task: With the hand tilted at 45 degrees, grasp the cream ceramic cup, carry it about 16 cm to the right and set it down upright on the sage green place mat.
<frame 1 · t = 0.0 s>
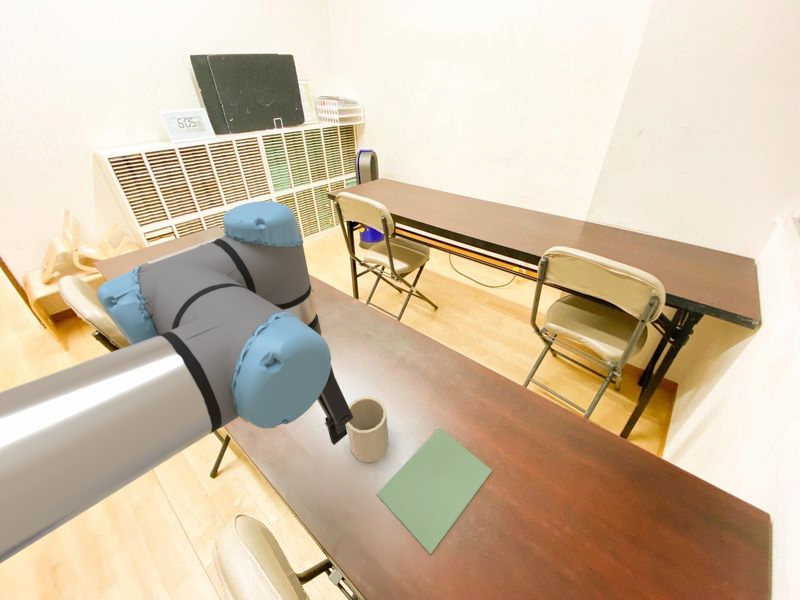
hand: (316, 412, 56), 20 cm above the table, tool pointing down, fingers open, 13 cm apart
place mat: (435, 482, 66), on the table
power supply unit: (196, 266, 140), on the table
plant: (251, 279, 131), on the table
cup: (369, 444, 73), on the table
hard drive box: (281, 337, 102), on the table
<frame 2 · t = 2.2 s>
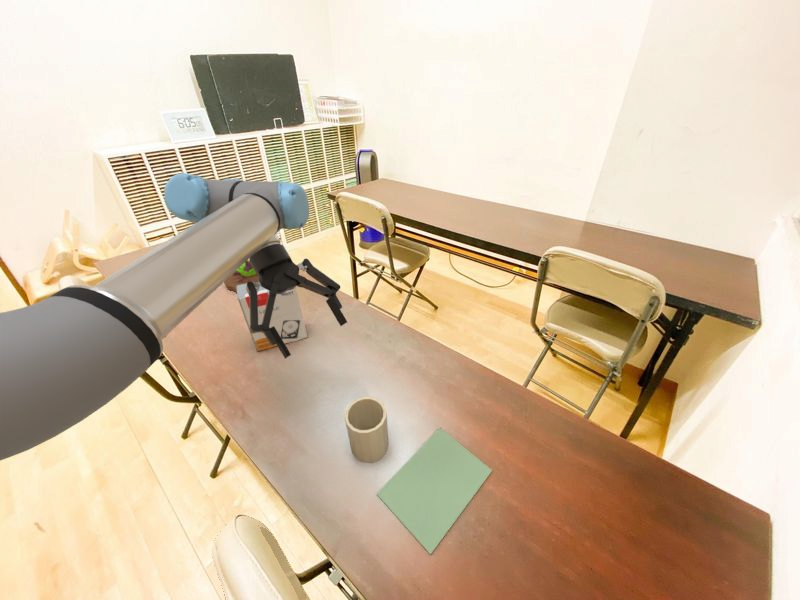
hand: (317, 339, 67), 23 cm above the table, tool tilted 45°, fingers open, 13 cm apart
nothing on the table moved.
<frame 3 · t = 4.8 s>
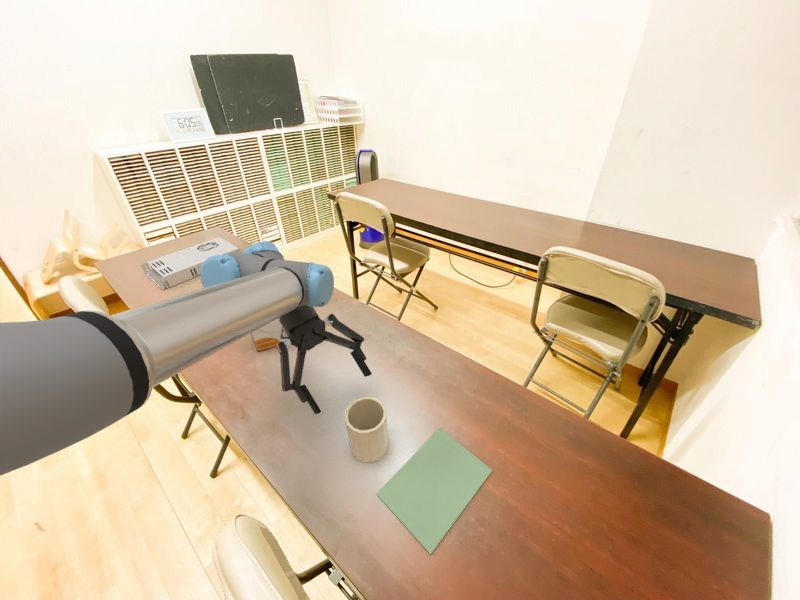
hand: (344, 393, 70), 12 cm above the table, tool tilted 45°, fingers open, 13 cm apart
nothing on the table moved.
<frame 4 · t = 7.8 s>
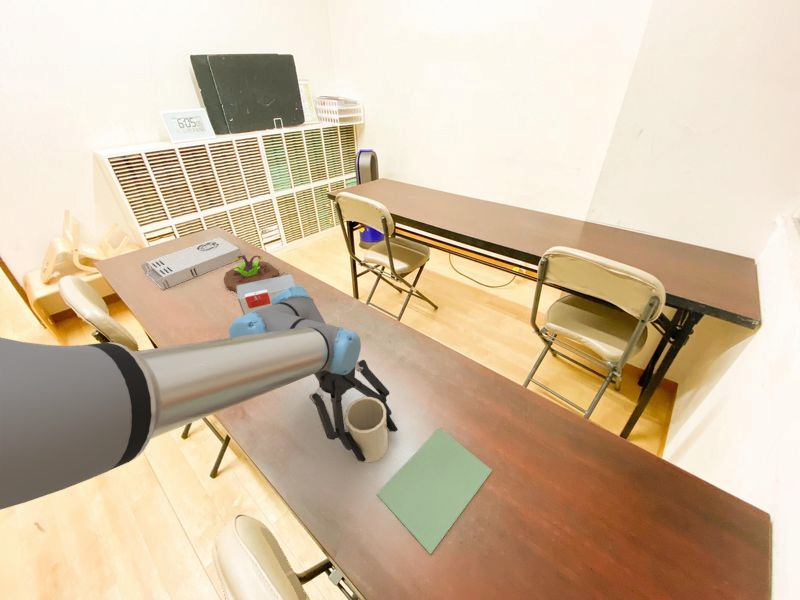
hand: (378, 444, 68), 4 cm above the table, tool tilted 45°, fingers closed on cup, 8 cm apart
cup: (369, 444, 73), on the table, touching gripper
everything else where it was.
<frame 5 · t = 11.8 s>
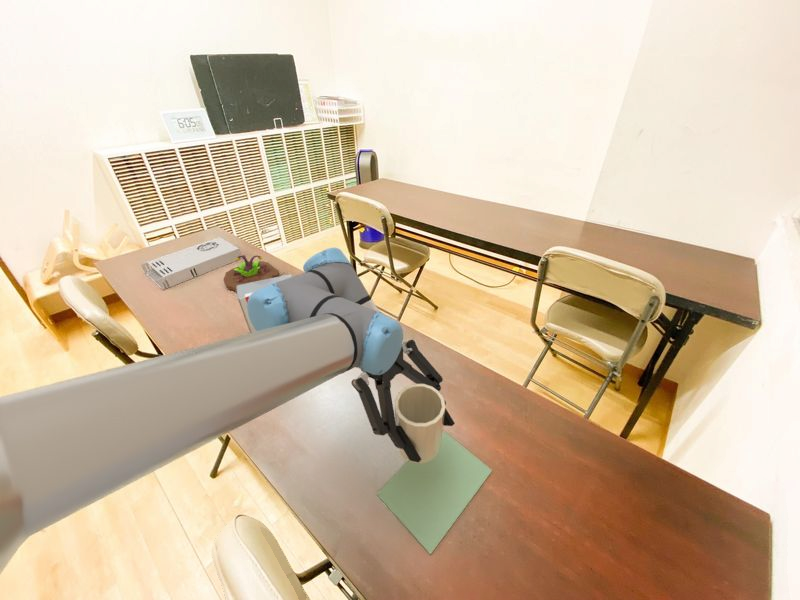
hand: (433, 441, 56), 16 cm above the table, tool tilted 45°, fingers closed on cup, 8 cm apart
cup: (418, 441, 61), point 12 cm above the table, touching gripper
everything else where it was.
when the fingers open (4 cm above the table, at t = 15.9 s): cup stays where it is, resting on place mat.
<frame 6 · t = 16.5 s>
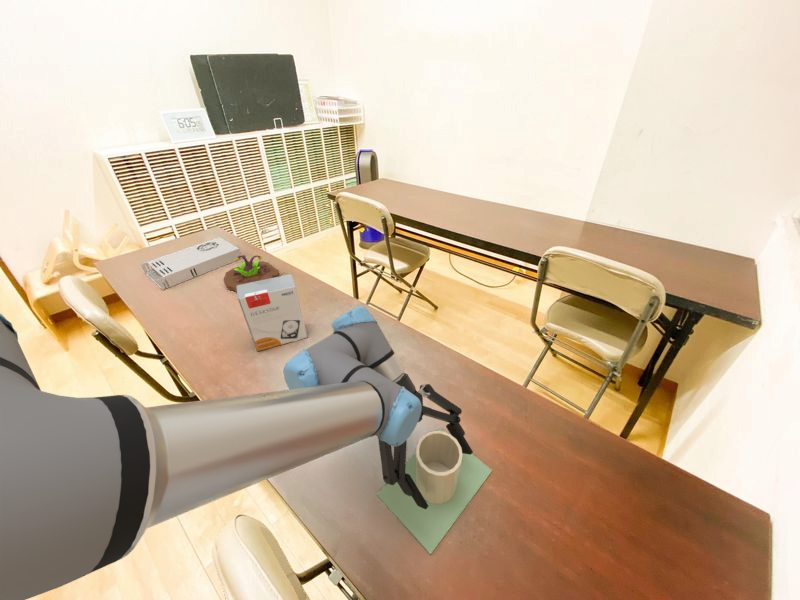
hand: (446, 477, 61), 6 cm above the table, tool tilted 45°, fingers open, 13 cm apart
cup: (435, 481, 66), resting on place mat
everything else where it was.
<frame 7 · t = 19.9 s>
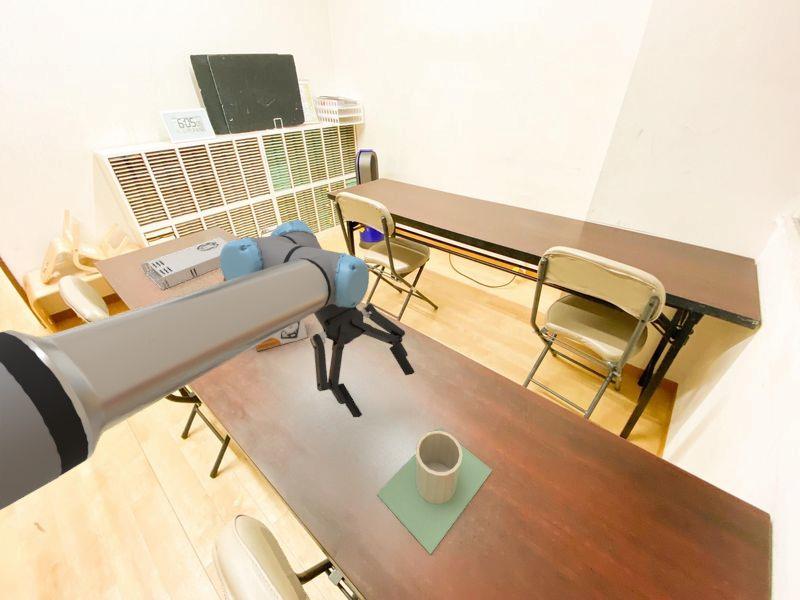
hand: (385, 393, 61), 19 cm above the table, tool tilted 45°, fingers open, 13 cm apart
nothing on the table moved.
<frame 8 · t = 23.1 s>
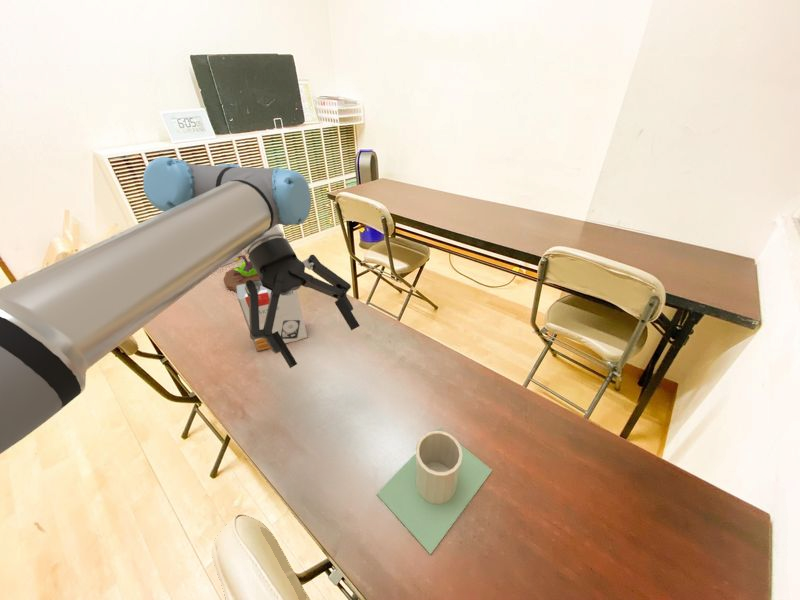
hand: (326, 346, 59), 28 cm above the table, tool tilted 45°, fingers open, 13 cm apart
nothing on the table moved.
at the end: cup inside the target area (0.0 cm from its centre), resting on place mat; cup tilted 0°; the gripper is holding nothing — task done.
